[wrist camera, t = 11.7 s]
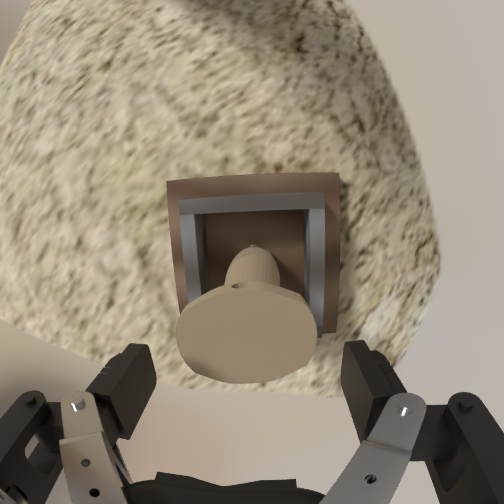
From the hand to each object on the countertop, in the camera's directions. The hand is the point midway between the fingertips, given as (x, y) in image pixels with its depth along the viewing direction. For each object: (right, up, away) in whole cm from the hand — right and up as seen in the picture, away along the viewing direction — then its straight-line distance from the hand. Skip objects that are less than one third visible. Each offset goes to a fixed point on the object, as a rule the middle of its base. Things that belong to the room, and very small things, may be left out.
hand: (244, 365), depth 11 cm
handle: (+1, +4, +16) cm, 17 cm away
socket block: (+1, +4, +18) cm, 18 cm away
